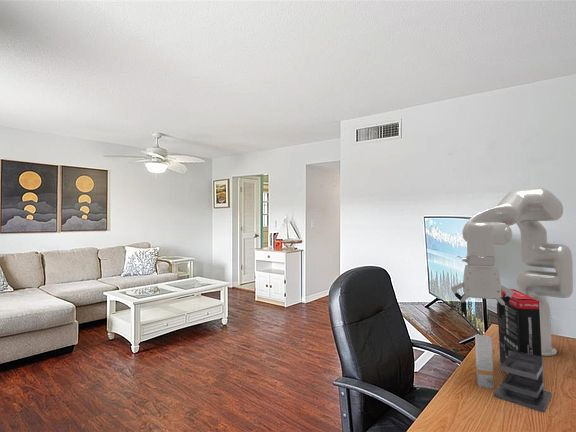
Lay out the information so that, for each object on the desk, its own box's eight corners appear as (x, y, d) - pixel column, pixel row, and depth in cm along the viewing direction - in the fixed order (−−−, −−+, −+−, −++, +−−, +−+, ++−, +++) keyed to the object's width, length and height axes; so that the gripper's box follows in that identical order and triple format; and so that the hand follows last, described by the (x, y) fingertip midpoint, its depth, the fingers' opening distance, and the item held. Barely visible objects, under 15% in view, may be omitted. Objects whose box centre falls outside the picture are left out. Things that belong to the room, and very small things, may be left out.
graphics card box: (545, 386, 103) (542, 298, 104) (520, 385, 105) (517, 298, 105) (518, 363, 120) (516, 288, 121) (497, 362, 121) (495, 287, 122)
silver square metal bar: (476, 380, 108) (474, 334, 108) (490, 382, 107) (489, 335, 107) (478, 386, 104) (477, 338, 105) (493, 388, 103) (492, 339, 103)
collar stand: (504, 382, 107) (503, 347, 107) (551, 395, 98) (550, 358, 98) (493, 396, 98) (492, 358, 99) (544, 412, 90) (542, 371, 90)
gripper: (451, 261, 106) (452, 316, 105) (515, 263, 100) (517, 321, 99) (449, 259, 113) (450, 310, 112) (509, 261, 107) (510, 315, 106)
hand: (481, 315), depth 106 cm, fingers open, 9 cm apart
